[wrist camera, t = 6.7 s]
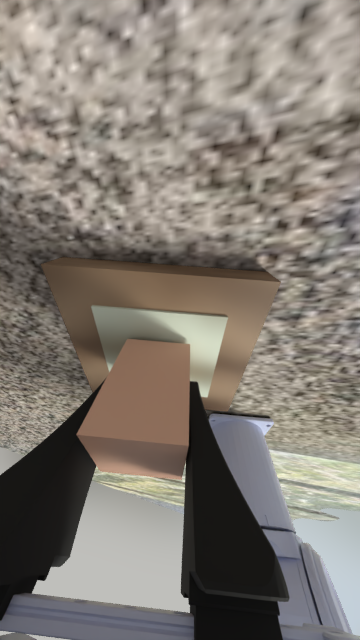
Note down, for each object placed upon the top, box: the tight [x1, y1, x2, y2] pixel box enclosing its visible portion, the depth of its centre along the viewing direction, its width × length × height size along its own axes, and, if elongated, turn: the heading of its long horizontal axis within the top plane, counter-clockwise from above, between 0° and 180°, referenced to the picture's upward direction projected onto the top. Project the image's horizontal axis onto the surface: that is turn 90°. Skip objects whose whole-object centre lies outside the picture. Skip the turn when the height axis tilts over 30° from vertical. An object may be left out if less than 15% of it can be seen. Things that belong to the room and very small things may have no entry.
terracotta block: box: [76, 339, 190, 480], centre depth 10 cm, size 4×4×6 cm
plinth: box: [41, 257, 281, 412], centre depth 14 cm, size 14×14×2 cm
